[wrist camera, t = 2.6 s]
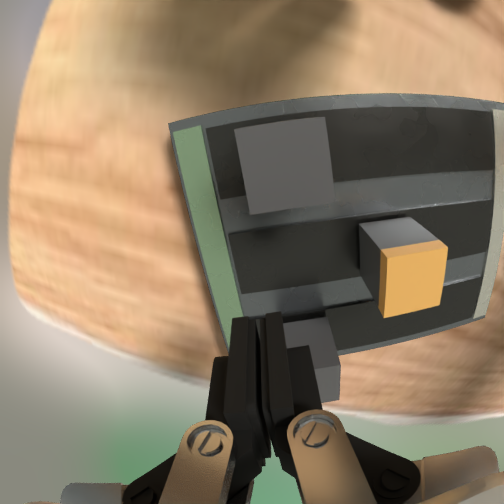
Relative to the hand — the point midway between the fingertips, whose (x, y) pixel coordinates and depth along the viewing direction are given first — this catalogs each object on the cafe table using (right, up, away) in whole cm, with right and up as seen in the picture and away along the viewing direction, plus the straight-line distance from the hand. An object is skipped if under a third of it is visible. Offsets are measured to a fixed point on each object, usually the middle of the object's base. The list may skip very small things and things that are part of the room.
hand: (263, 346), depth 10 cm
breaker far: (+3, -2, +8) cm, 8 cm away
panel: (+7, +4, +7) cm, 10 cm away
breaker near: (+1, +8, +3) cm, 8 cm away
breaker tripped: (+7, +4, +5) cm, 9 cm away
